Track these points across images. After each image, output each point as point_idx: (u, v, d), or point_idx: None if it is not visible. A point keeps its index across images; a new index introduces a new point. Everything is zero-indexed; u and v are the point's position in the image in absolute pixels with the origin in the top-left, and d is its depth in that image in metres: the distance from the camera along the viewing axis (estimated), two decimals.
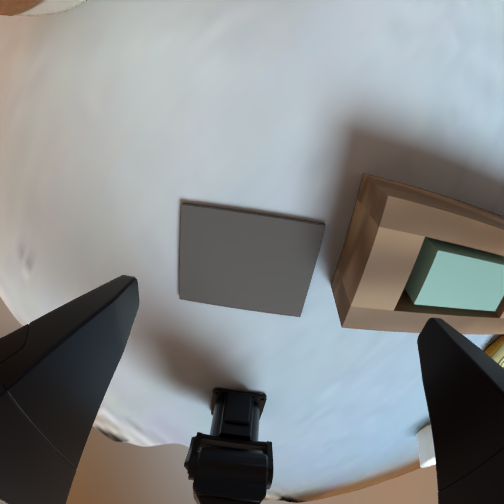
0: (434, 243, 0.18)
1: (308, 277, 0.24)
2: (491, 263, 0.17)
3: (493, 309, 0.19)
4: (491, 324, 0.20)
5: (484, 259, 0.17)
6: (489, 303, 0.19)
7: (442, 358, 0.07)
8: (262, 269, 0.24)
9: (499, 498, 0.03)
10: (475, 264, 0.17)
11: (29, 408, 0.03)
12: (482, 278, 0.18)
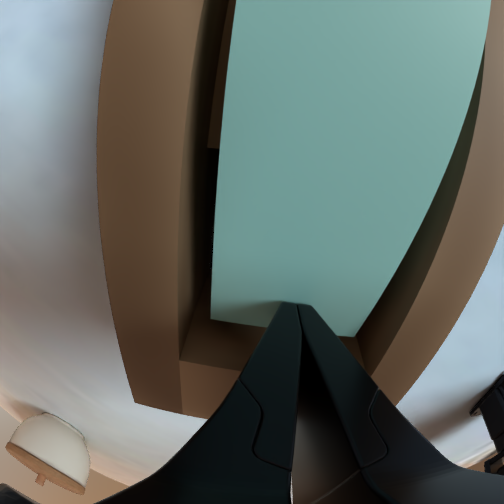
0: None
1: None
2: (227, 106, 0.05)
3: (483, 4, 0.02)
4: None
5: (220, 152, 0.05)
6: (452, 37, 0.03)
7: None
8: None
9: None
10: (238, 196, 0.06)
11: None
12: (306, 131, 0.05)
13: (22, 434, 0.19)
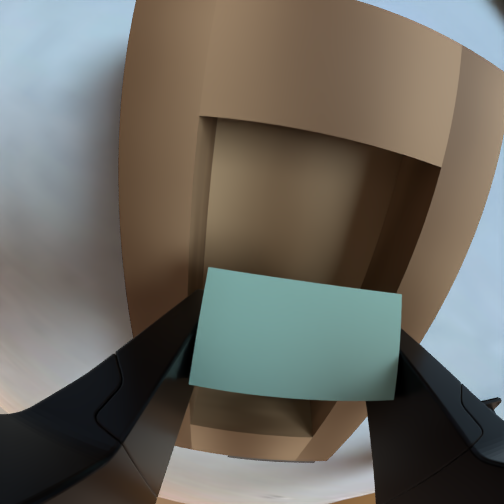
0: None
1: None
2: None
3: None
4: (454, 201, 0.06)
5: None
6: None
7: None
8: None
9: None
10: None
11: (137, 452, 0.03)
12: None
13: None
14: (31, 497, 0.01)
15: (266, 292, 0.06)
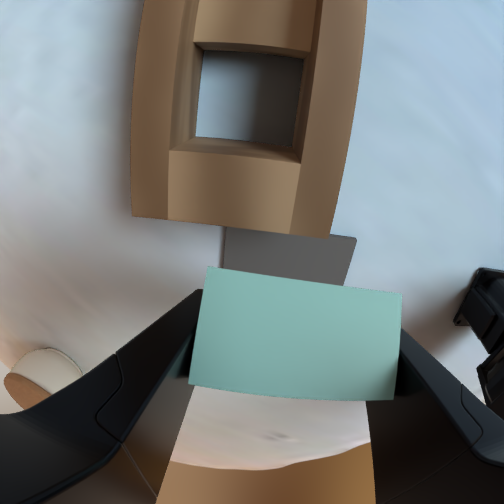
0: None
1: (296, 235, 0.20)
2: None
3: None
4: None
5: None
6: None
7: None
8: None
9: None
10: None
11: (137, 453, 0.03)
12: None
13: (21, 363, 0.24)
14: (31, 498, 0.01)
15: (265, 291, 0.06)
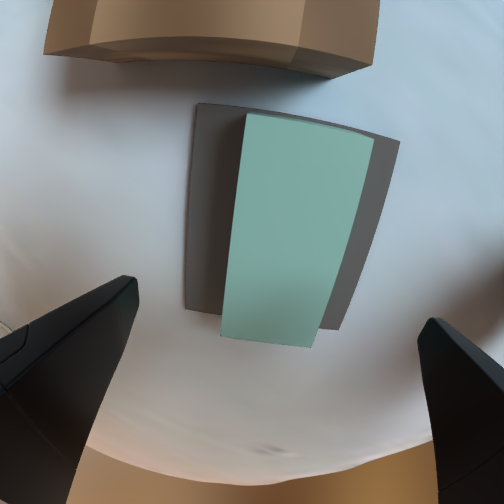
0: None
1: None
2: (234, 219, 0.11)
3: (367, 147, 0.09)
4: None
5: (230, 241, 0.12)
6: (345, 173, 0.10)
7: (442, 358, 0.07)
8: None
9: (499, 498, 0.03)
10: (239, 262, 0.12)
11: (29, 408, 0.03)
12: (271, 231, 0.11)
13: None
14: None
15: None
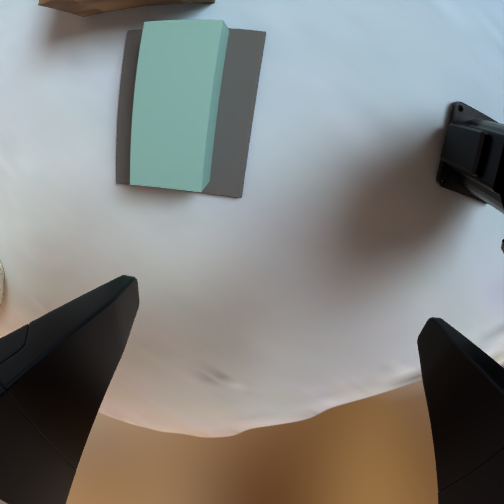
0: None
1: None
2: (136, 84, 0.14)
3: (218, 25, 0.12)
4: None
5: (134, 100, 0.14)
6: (204, 43, 0.12)
7: (442, 358, 0.07)
8: None
9: (499, 498, 0.03)
10: (139, 114, 0.14)
11: (29, 408, 0.03)
12: (158, 88, 0.14)
13: None
14: None
15: None
